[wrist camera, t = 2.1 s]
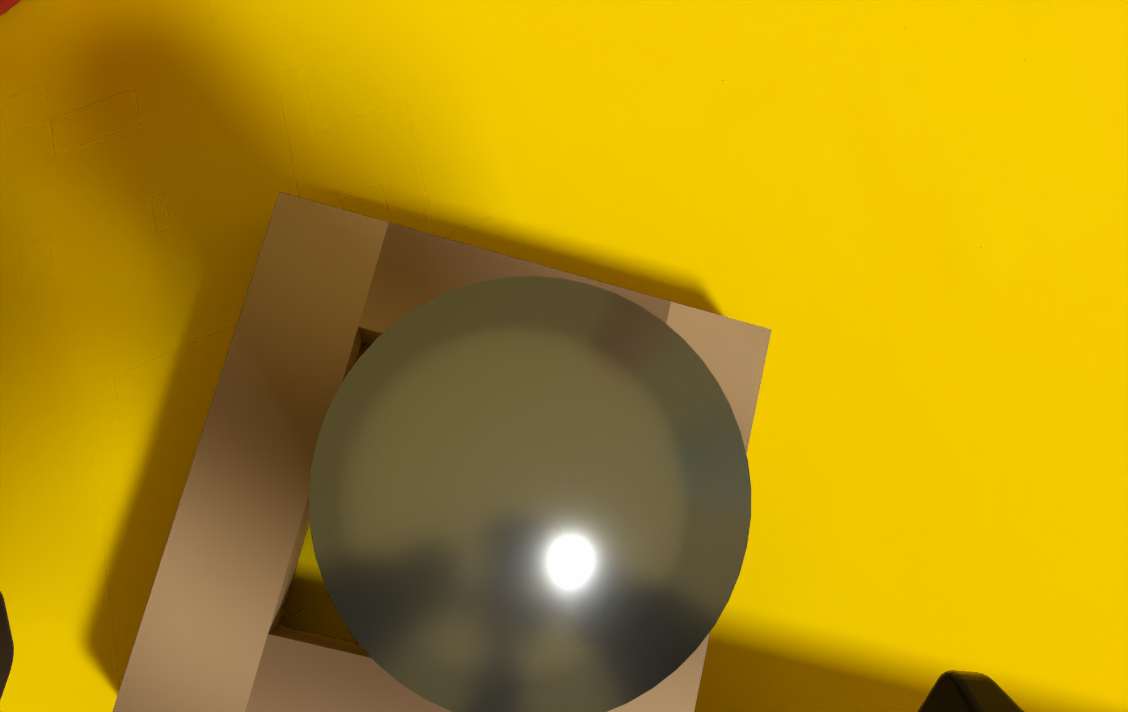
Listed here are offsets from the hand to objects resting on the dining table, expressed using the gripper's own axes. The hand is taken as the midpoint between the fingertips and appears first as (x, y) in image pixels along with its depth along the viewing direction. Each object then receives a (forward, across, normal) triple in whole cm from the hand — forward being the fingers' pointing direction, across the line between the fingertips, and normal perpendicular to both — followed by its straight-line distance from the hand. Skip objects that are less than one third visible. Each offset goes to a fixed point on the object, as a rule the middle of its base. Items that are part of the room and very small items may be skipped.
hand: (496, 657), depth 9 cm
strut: (+8, 0, +6) cm, 9 cm away
